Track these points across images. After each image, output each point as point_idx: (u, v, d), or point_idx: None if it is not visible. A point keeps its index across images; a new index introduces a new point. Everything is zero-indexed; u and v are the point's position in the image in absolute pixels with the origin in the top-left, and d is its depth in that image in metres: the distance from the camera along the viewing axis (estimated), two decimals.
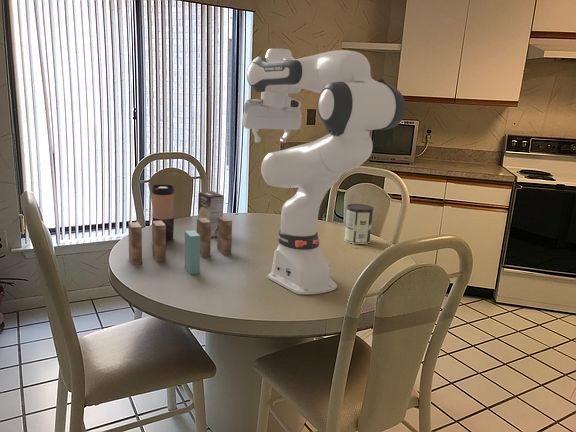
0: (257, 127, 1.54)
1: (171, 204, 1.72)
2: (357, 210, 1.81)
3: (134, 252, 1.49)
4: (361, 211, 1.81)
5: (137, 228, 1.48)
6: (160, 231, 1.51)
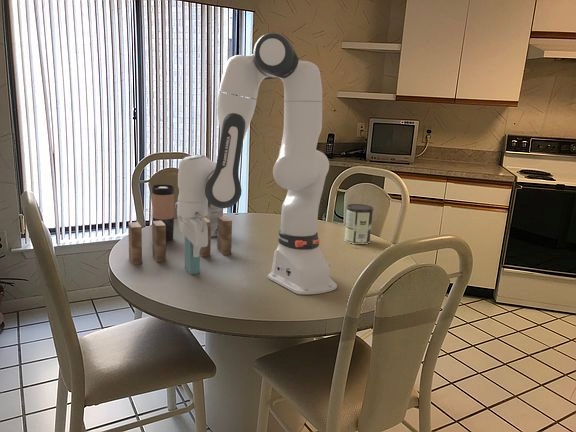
0: None
1: (171, 204, 1.72)
2: (357, 210, 1.81)
3: (134, 252, 1.49)
4: (361, 211, 1.81)
5: (137, 228, 1.48)
6: (160, 231, 1.51)
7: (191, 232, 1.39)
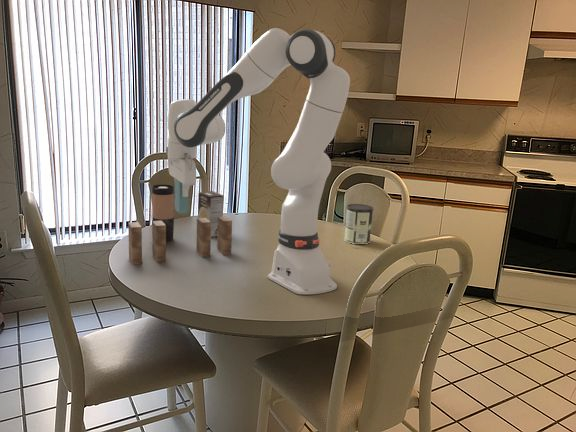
0: None
1: (171, 204, 1.72)
2: (357, 210, 1.81)
3: (134, 252, 1.49)
4: (361, 211, 1.81)
5: (137, 228, 1.48)
6: (160, 231, 1.51)
7: (180, 172, 1.48)
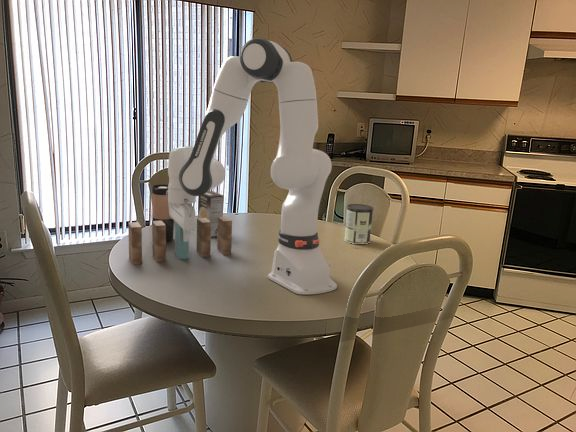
0: None
1: None
2: (357, 210, 1.81)
3: (134, 252, 1.49)
4: (361, 211, 1.81)
5: (137, 228, 1.48)
6: (160, 231, 1.51)
7: (180, 217, 1.51)
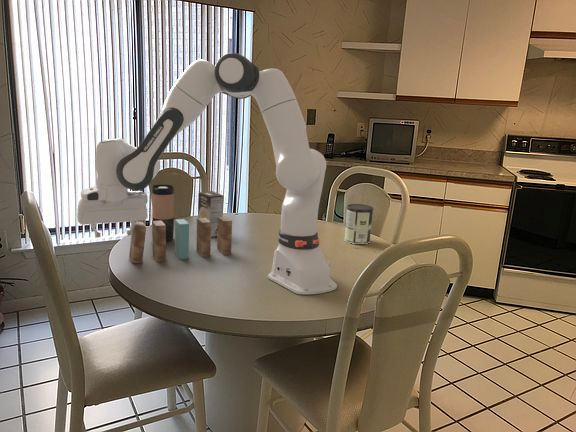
0: None
1: (171, 204, 1.72)
2: (357, 210, 1.81)
3: (136, 252, 1.49)
4: (361, 211, 1.81)
5: (142, 228, 1.48)
6: (160, 231, 1.51)
7: (131, 211, 1.47)
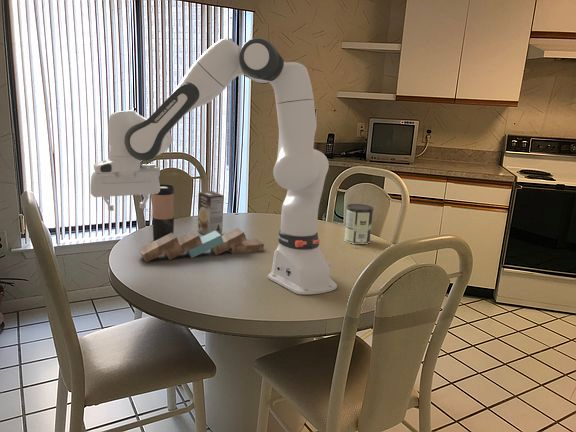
0: None
1: (171, 204, 1.72)
2: (357, 210, 1.81)
3: (153, 251, 1.52)
4: (361, 211, 1.81)
5: (177, 242, 1.55)
6: (195, 241, 1.58)
7: (143, 183, 1.46)
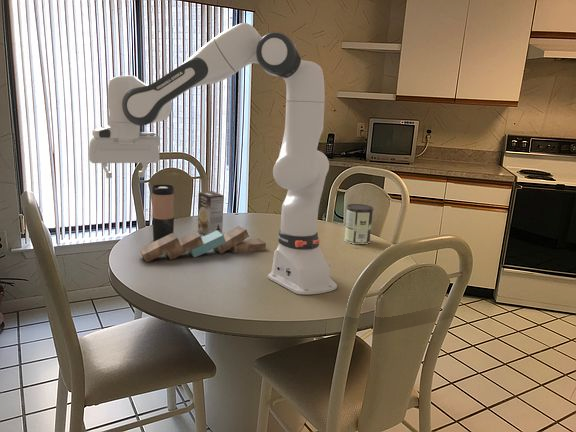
0: None
1: (171, 204, 1.72)
2: (357, 210, 1.81)
3: (154, 251, 1.52)
4: (361, 211, 1.81)
5: (178, 242, 1.55)
6: (196, 241, 1.58)
7: (143, 151, 1.44)
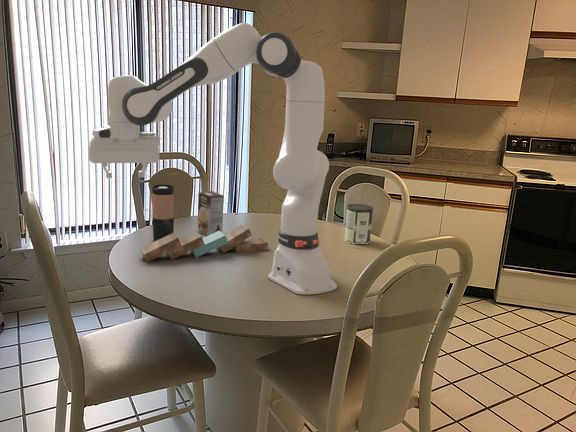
0: None
1: (171, 204, 1.72)
2: (357, 210, 1.81)
3: (155, 251, 1.52)
4: (361, 211, 1.81)
5: (178, 242, 1.56)
6: (197, 242, 1.58)
7: (143, 151, 1.44)
